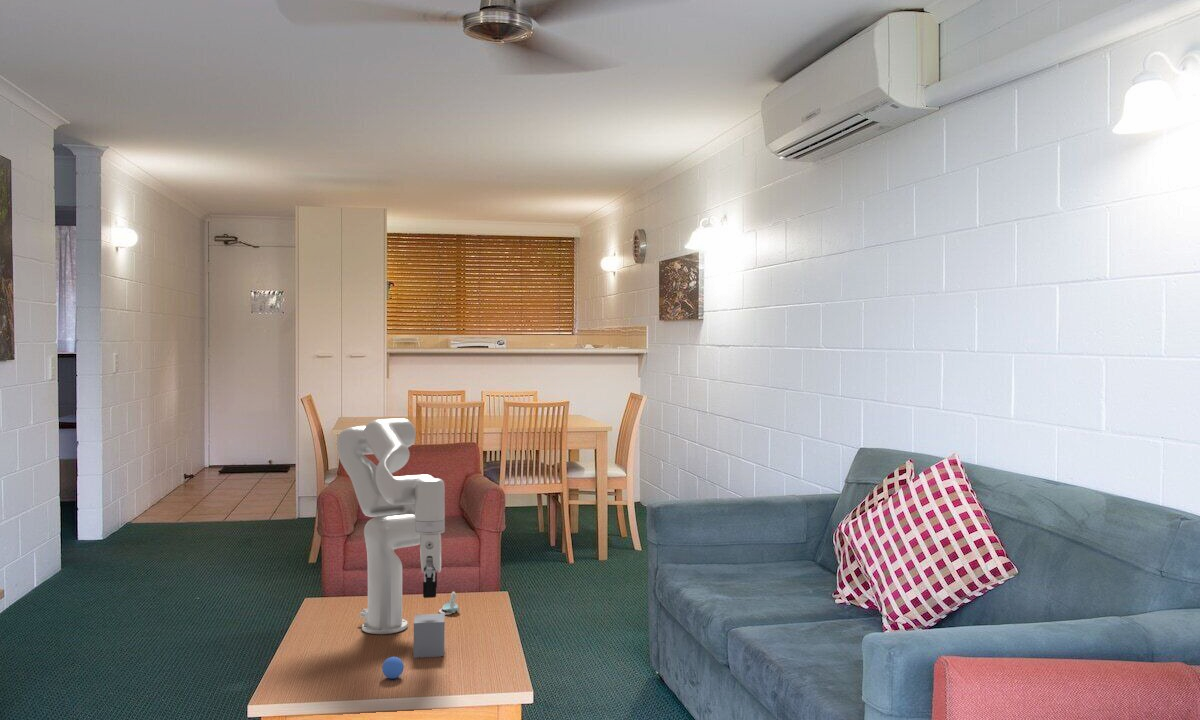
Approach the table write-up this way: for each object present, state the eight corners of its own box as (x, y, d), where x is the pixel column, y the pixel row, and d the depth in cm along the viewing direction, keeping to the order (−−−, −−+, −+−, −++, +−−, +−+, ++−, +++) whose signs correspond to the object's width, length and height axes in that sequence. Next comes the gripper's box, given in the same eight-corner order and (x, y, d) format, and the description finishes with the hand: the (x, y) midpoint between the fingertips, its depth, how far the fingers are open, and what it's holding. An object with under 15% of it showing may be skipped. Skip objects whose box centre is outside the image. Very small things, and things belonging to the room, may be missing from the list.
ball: (377, 679, 219) (377, 658, 219) (392, 673, 223) (392, 652, 223) (393, 683, 216) (393, 662, 216) (408, 676, 221) (408, 656, 221)
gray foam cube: (413, 657, 234) (413, 623, 234) (414, 648, 242) (415, 614, 242) (444, 656, 236) (444, 622, 236) (444, 646, 243) (444, 613, 243)
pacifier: (440, 617, 271) (461, 615, 273) (440, 596, 271) (460, 594, 273) (437, 610, 278) (456, 608, 280) (436, 590, 278) (456, 588, 280)
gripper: (444, 532, 230) (444, 600, 230) (445, 520, 248) (445, 583, 248) (413, 533, 229) (413, 601, 229) (416, 521, 246) (416, 585, 246)
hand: (430, 592), depth 238 cm, fingers open, 9 cm apart
